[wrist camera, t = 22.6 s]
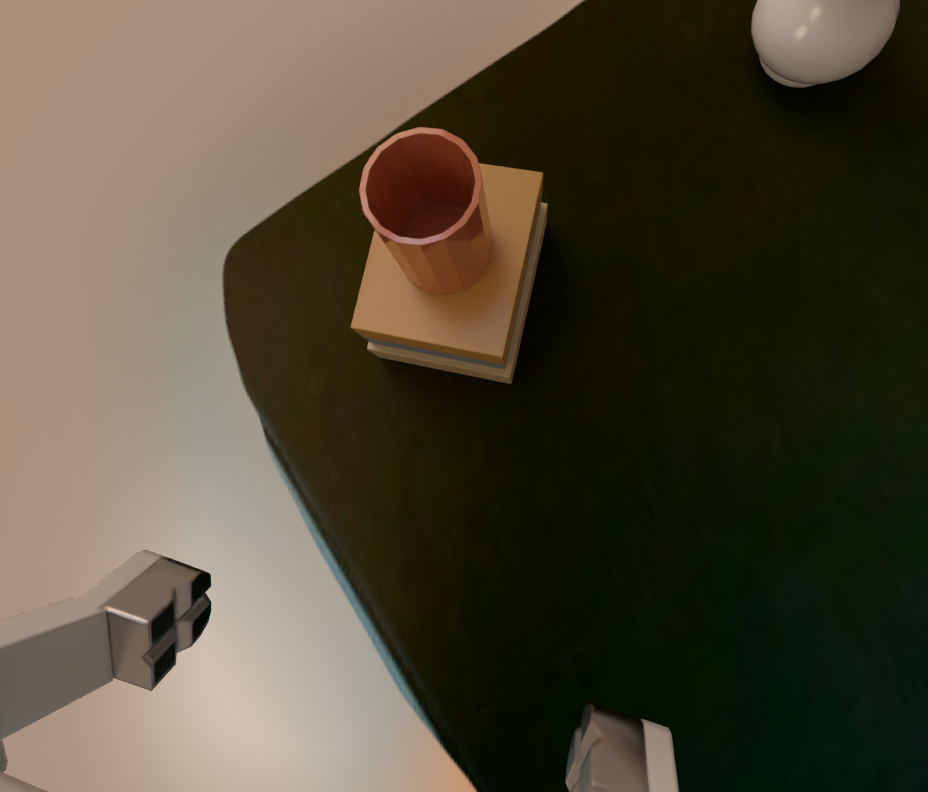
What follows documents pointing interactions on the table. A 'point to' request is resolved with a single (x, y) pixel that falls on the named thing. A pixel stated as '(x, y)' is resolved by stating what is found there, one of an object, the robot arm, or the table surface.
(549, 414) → the table surface
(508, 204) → the book stack
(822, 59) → the flower vase
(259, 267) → the table surface
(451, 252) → the cup
